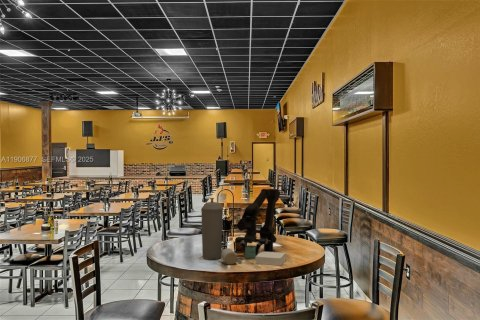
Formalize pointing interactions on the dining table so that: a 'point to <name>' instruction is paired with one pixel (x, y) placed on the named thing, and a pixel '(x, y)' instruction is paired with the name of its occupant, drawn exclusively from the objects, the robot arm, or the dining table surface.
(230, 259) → the ceramic mug
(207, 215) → the canister
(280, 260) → the grey base
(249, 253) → the teal block
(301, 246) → the dining table surface
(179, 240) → the dining table surface
